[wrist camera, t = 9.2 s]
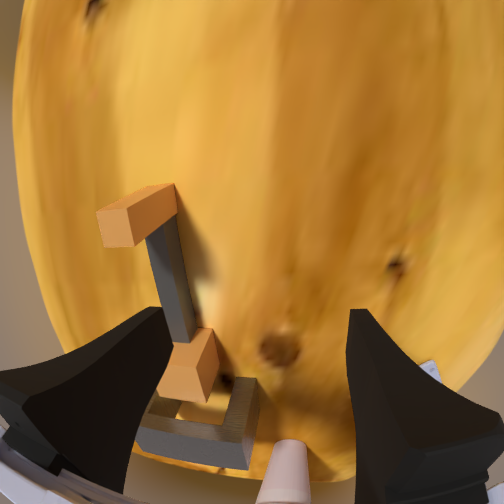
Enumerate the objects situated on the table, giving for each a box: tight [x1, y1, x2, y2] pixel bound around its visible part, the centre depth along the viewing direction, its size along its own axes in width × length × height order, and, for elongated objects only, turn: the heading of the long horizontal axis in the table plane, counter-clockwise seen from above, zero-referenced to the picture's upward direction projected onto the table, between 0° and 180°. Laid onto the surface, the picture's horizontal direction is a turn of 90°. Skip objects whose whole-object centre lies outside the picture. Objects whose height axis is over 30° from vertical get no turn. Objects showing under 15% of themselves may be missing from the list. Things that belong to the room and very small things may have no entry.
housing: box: [135, 377, 260, 470], centre depth 24 cm, size 5×10×7 cm, turn 95°
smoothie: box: [256, 439, 311, 504], centre depth 23 cm, size 6×6×14 cm
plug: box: [96, 183, 220, 403], centre depth 20 cm, size 16×4×6 cm, turn 5°
